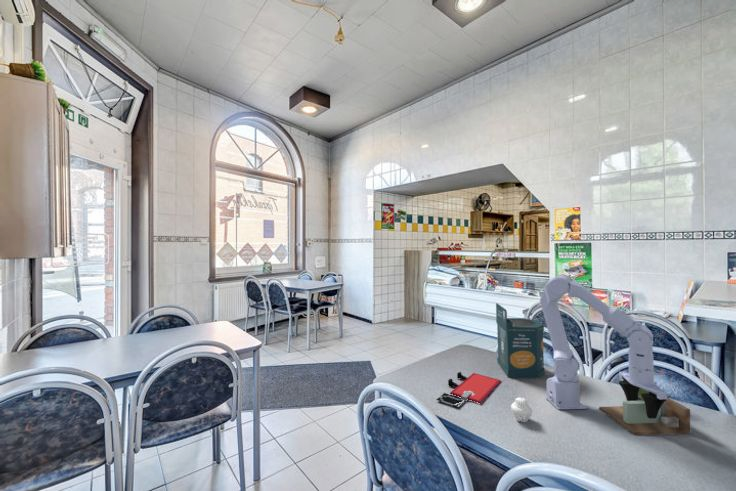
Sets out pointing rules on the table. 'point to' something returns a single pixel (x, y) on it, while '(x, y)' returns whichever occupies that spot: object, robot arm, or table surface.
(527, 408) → the muffin
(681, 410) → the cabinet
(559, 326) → the robot arm
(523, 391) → the table surface
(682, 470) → the table surface
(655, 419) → the green piece
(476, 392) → the red board with handle
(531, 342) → the donation box
